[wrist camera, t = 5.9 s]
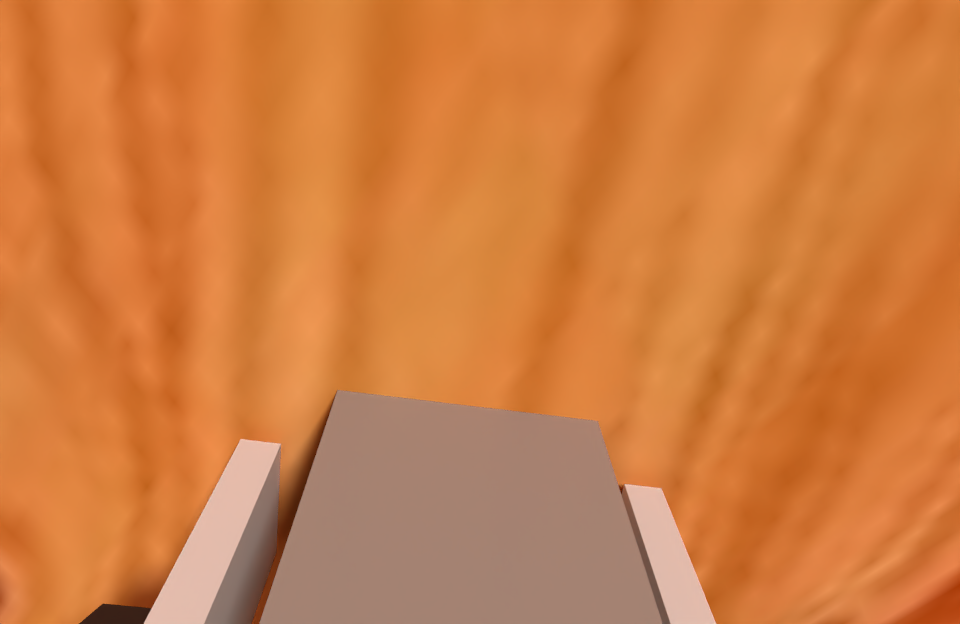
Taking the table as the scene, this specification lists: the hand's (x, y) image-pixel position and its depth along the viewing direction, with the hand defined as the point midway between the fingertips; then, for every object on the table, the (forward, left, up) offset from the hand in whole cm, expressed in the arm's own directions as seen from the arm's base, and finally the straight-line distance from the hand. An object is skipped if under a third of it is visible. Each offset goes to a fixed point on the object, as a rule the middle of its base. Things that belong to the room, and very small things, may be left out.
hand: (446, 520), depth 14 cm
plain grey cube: (0, 0, 0) cm, 0 cm away
